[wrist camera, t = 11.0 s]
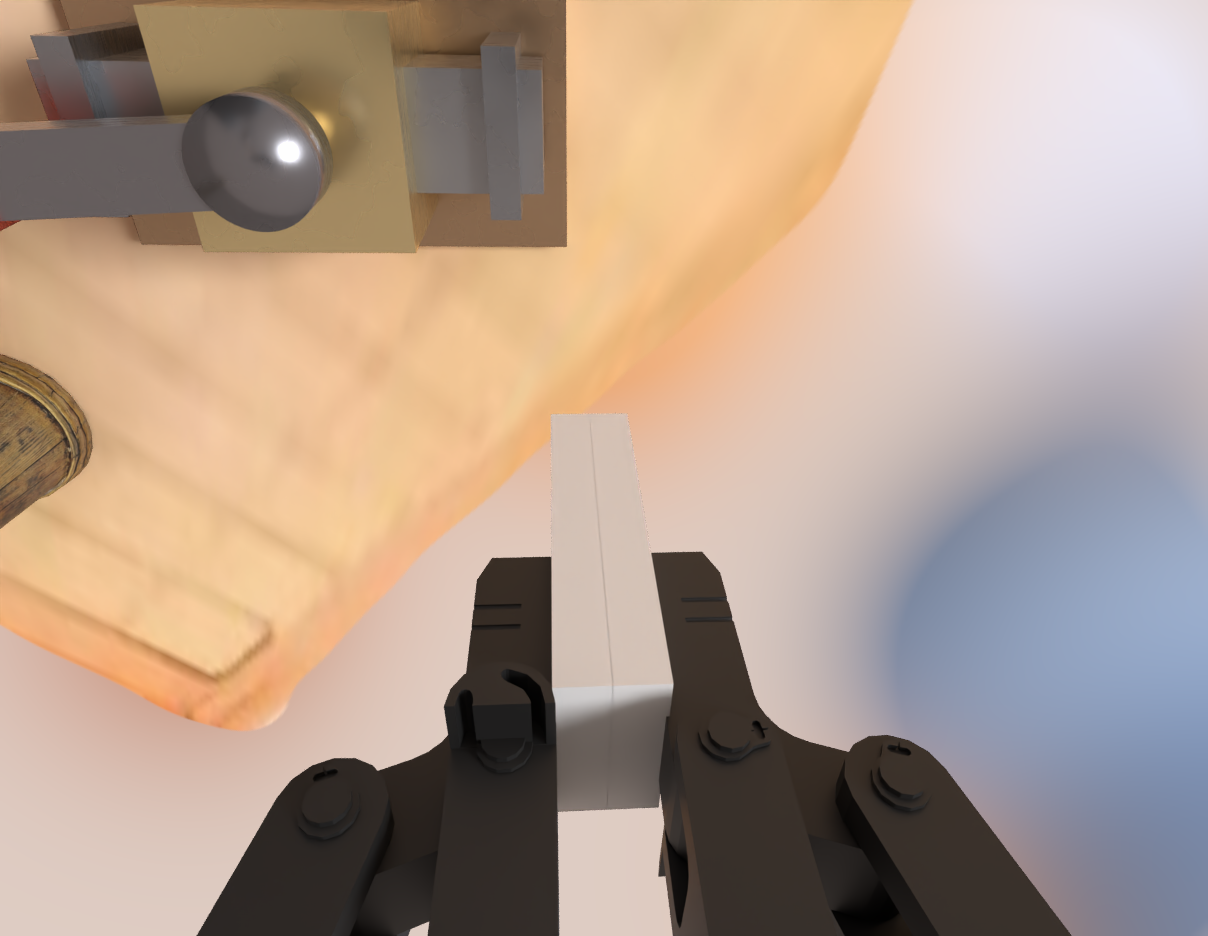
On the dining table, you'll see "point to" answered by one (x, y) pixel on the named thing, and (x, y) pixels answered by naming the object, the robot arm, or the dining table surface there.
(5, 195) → the lever
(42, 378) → the wooden mug
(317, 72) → the valve body
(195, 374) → the dining table surface
